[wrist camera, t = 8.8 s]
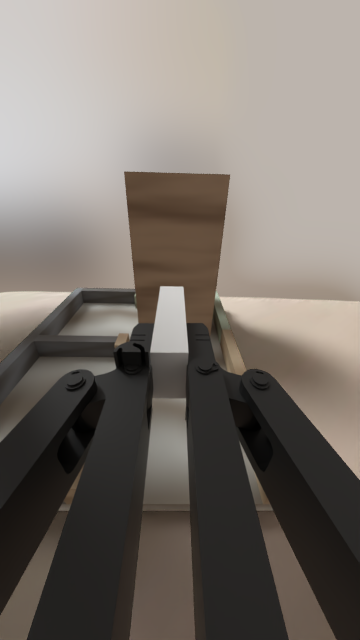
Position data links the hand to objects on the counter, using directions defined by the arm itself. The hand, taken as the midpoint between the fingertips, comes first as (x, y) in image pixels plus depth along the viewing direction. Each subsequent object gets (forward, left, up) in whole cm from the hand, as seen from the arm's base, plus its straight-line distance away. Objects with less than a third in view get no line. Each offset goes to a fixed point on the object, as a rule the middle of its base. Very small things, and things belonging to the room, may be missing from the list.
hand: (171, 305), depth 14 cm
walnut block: (-6, +9, -8) cm, 14 cm away
